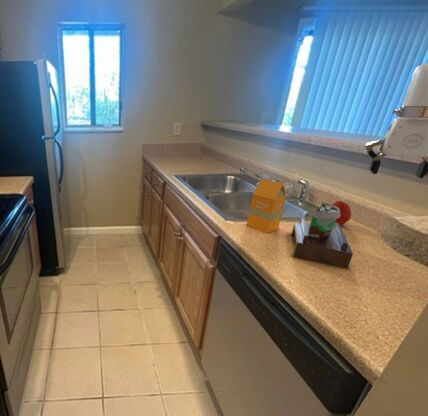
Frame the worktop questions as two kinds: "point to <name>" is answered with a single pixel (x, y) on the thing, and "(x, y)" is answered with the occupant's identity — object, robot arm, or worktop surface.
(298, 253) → the dark wooden tray
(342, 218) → the apple
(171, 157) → the worktop surface
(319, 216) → the food container
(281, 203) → the orange juice
